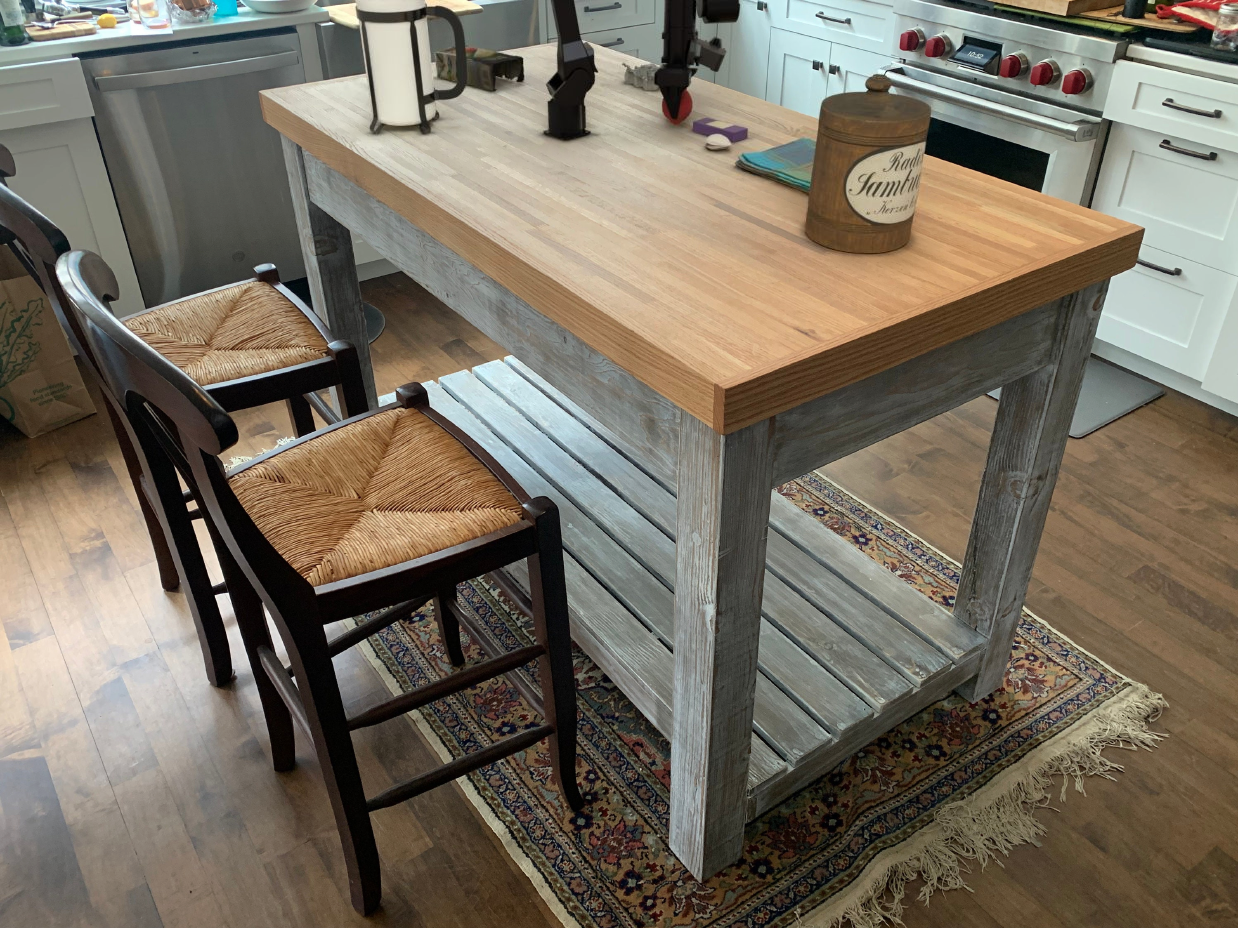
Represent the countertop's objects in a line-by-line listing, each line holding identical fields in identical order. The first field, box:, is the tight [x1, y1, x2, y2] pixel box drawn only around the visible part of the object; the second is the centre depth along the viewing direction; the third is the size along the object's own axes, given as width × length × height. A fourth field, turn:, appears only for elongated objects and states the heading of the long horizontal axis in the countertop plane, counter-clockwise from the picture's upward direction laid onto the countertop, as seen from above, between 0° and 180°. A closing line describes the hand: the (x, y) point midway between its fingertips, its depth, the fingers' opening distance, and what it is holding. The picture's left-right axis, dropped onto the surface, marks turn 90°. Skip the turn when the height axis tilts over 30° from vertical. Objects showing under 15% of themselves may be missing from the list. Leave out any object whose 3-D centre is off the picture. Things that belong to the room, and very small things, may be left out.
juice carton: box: [434, 44, 525, 92], centre depth 214 cm, size 20×10×6 cm, turn 48°
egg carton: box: [621, 62, 660, 91], centre depth 212 cm, size 11×8×4 cm
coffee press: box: [354, 0, 467, 135], centre depth 179 cm, size 17×16×30 cm
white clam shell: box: [705, 134, 733, 151], centre depth 174 cm, size 4×5×2 cm
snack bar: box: [691, 117, 749, 144], centre depth 182 cm, size 10×4×2 cm, turn 44°
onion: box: [661, 89, 694, 126], centre depth 184 cm, size 6×6×8 cm
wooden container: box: [804, 73, 932, 254], centre depth 136 cm, size 15×15×22 cm
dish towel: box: [734, 137, 816, 194], centre depth 162 cm, size 17×23×2 cm
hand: (676, 114), depth 185 cm, fingers closed on onion, 6 cm apart
